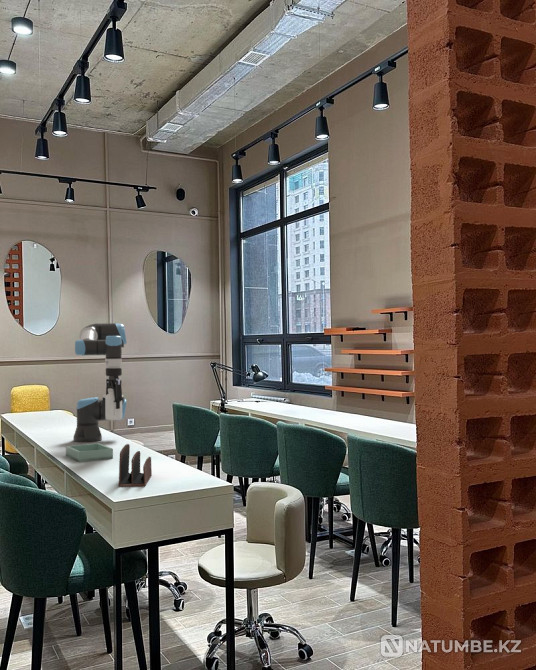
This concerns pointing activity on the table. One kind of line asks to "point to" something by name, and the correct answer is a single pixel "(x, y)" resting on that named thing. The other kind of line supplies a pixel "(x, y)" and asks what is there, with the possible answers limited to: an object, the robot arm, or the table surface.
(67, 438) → the table surface
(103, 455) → the box
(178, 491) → the table surface
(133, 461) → the letter holder
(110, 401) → the pill bottle
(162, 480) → the table surface
